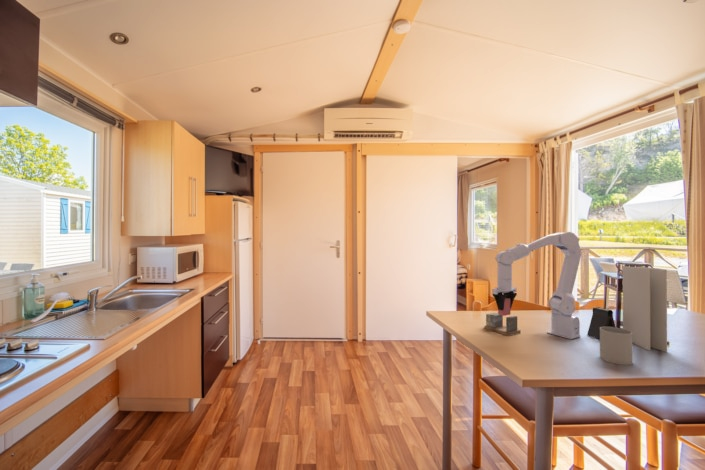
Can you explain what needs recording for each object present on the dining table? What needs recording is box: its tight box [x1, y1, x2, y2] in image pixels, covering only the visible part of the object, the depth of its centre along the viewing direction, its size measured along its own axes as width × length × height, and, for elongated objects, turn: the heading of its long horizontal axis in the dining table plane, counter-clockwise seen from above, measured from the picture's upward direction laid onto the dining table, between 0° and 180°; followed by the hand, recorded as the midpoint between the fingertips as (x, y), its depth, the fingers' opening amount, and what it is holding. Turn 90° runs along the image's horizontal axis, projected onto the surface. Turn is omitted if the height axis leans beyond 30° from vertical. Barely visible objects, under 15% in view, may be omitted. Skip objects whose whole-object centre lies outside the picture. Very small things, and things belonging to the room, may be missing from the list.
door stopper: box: [586, 306, 617, 340], centre depth 125 cm, size 9×6×12 cm, turn 104°
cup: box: [599, 326, 633, 366], centre depth 102 cm, size 8×8×10 cm
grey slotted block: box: [483, 312, 521, 337], centre depth 133 cm, size 12×8×7 cm, turn 29°
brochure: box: [622, 265, 668, 353], centre depth 116 cm, size 14×6×30 cm, turn 168°
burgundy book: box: [497, 298, 511, 317], centre depth 132 cm, size 2×5×7 cm, turn 119°
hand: (504, 309), depth 132 cm, fingers closed on burgundy book, 5 cm apart
